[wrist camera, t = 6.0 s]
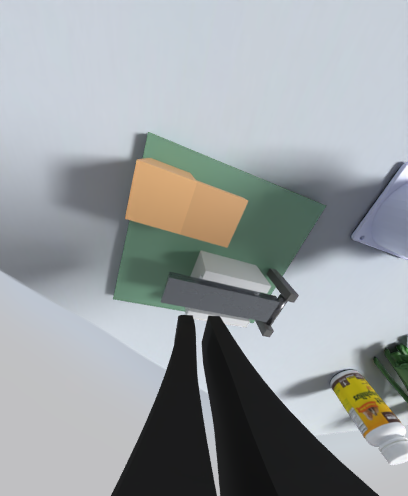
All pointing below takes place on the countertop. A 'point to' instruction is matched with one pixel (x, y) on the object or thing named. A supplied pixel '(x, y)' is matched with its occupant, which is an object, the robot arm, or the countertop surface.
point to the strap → (221, 298)
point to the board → (211, 255)
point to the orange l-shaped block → (182, 203)
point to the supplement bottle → (371, 416)
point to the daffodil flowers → (397, 367)
